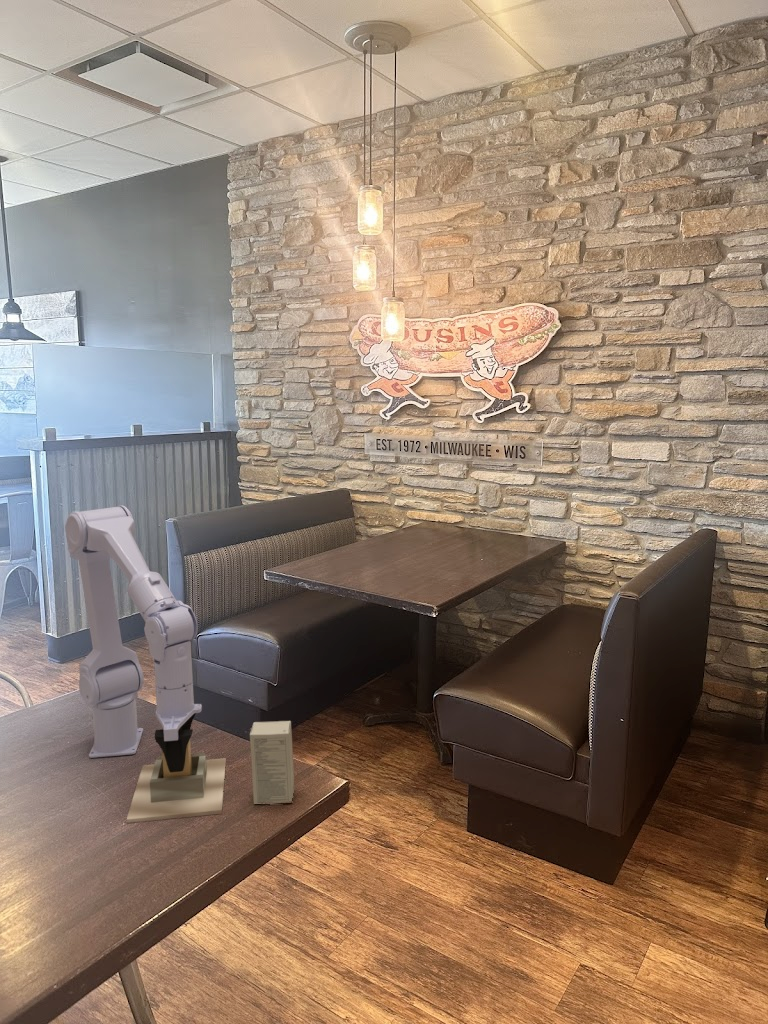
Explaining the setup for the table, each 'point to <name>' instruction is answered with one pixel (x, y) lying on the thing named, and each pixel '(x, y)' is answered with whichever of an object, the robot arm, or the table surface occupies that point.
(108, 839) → the table surface
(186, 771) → the peg
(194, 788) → the socket stand
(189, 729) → the robot arm
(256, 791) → the skincare box
